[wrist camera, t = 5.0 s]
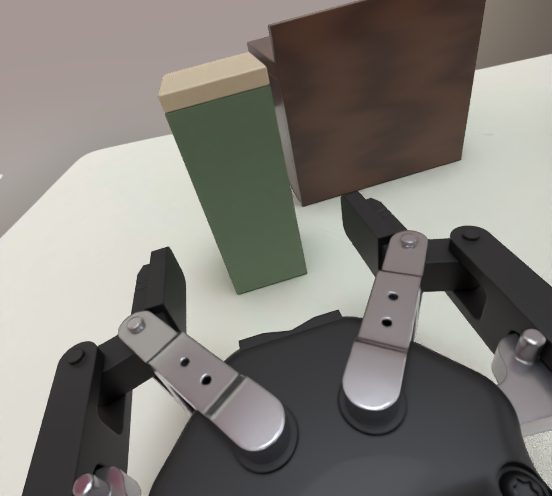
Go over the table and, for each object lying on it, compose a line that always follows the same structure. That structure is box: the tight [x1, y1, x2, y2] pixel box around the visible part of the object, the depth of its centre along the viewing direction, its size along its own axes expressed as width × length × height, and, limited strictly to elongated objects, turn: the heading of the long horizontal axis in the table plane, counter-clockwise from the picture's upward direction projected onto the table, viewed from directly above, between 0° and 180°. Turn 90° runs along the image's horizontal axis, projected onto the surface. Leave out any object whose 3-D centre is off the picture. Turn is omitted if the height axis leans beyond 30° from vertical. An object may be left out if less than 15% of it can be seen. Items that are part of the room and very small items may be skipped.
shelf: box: [247, 0, 486, 206], centre depth 31 cm, size 15×14×14 cm
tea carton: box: [158, 52, 307, 294], centre depth 21 cm, size 5×5×13 cm
